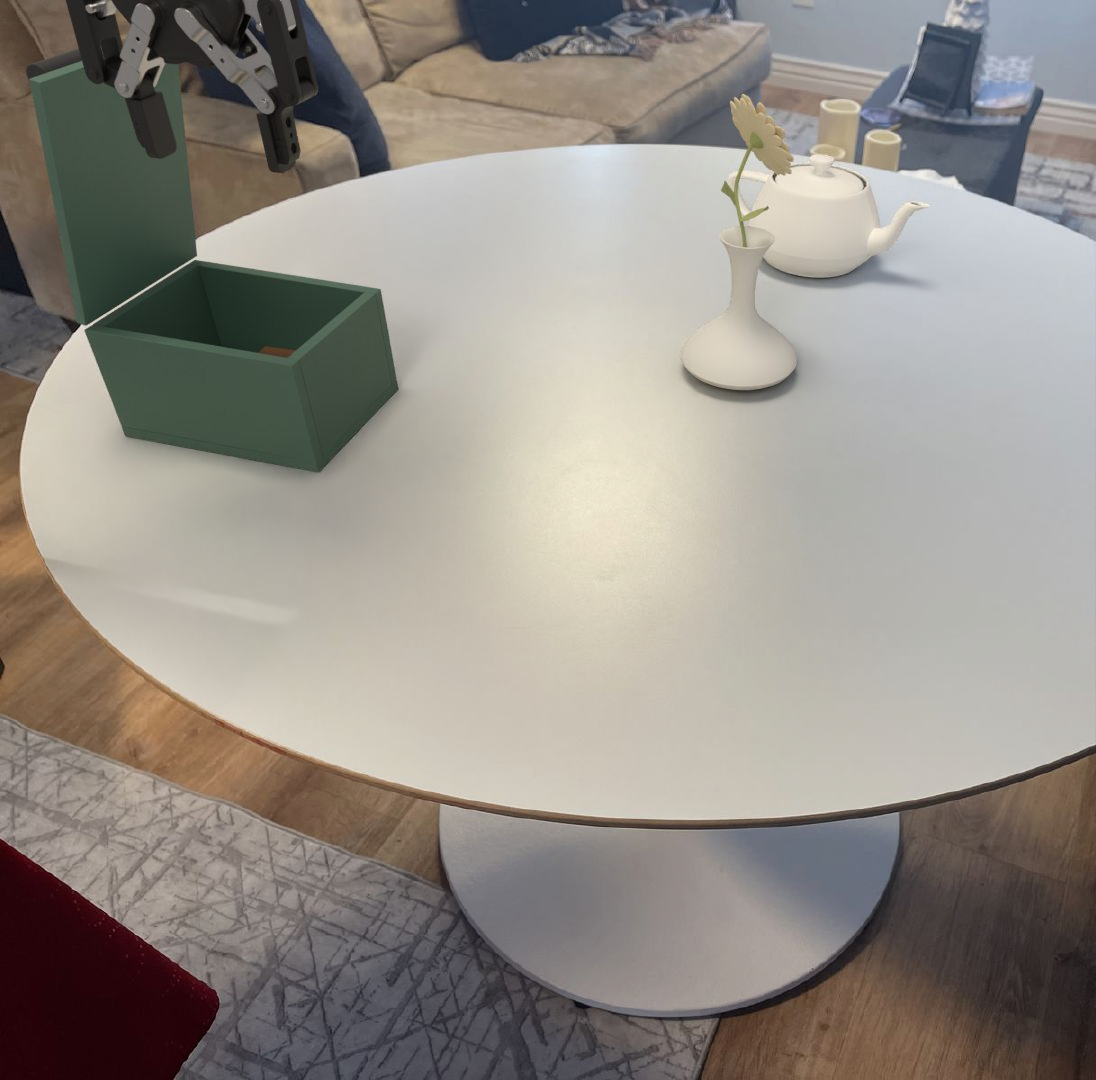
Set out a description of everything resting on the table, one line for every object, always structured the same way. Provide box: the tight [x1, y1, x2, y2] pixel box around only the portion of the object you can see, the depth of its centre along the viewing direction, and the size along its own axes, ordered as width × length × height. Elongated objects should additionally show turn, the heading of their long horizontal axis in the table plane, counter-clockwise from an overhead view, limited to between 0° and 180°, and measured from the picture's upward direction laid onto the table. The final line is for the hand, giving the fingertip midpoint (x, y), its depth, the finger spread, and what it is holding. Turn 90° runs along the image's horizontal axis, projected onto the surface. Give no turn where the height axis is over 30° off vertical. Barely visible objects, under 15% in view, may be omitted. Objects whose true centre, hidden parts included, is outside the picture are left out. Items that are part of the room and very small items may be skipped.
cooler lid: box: [25, 48, 198, 327], centre depth 77 cm, size 19×14×5 cm
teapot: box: [726, 153, 931, 279], centre depth 116 cm, size 25×16×12 cm, turn 61°
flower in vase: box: [679, 93, 798, 391], centre depth 91 cm, size 13×11×25 cm
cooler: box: [83, 259, 399, 473], centre depth 86 cm, size 18×14×10 cm
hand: (222, 162), depth 66 cm, fingers open, 8 cm apart
